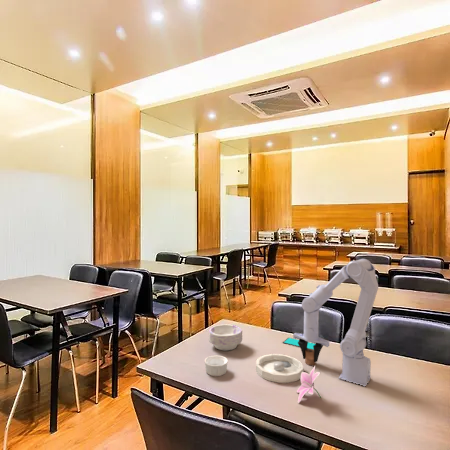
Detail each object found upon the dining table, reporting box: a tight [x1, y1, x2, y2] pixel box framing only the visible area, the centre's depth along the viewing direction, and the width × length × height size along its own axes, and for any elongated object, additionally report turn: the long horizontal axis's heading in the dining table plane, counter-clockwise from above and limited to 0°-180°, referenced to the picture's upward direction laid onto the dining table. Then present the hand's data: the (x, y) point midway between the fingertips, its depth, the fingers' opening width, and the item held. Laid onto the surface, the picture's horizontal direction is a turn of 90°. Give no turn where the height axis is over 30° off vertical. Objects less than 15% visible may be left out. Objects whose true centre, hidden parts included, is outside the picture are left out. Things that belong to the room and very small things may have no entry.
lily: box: [296, 365, 322, 404], centre depth 105 cm, size 12×12×10 cm
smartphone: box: [282, 337, 316, 350], centre depth 149 cm, size 7×1×15 cm
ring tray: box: [255, 353, 304, 384], centre depth 123 cm, size 18×18×3 cm
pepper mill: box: [304, 349, 316, 366], centre depth 130 cm, size 4×4×5 cm
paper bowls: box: [208, 323, 243, 351], centre depth 145 cm, size 15×15×8 cm
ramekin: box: [204, 355, 229, 377], centre depth 122 cm, size 9×9×4 cm
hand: (310, 359), depth 130 cm, fingers closed on pepper mill, 4 cm apart
